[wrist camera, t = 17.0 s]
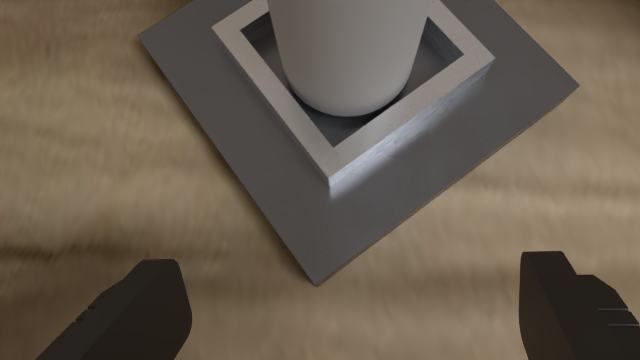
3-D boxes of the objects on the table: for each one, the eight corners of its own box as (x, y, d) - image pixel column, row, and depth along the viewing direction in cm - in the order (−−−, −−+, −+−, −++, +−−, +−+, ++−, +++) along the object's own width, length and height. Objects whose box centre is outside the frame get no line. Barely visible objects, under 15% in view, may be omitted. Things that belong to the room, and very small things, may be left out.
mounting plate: (373, -87, 28) (378, -143, 25) (561, 103, 24) (597, 68, 21) (152, 55, 26) (123, 17, 23) (317, 287, 22) (312, 283, 19)
